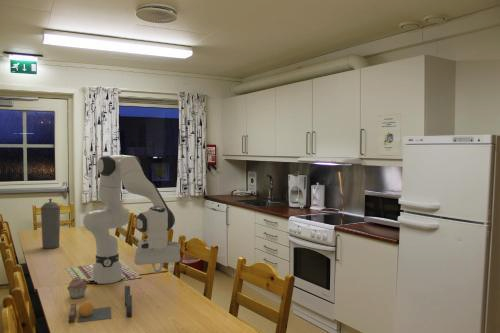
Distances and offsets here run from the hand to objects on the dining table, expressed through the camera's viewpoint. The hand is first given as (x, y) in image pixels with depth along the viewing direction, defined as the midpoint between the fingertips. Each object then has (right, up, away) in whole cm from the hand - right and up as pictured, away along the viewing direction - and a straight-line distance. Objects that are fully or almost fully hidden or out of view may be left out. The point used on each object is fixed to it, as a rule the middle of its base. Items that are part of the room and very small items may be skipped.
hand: (157, 272), depth 191 cm
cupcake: (-42, -15, +14) cm, 47 cm away
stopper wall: (-34, -16, -10) cm, 39 cm away
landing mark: (-25, -16, -8) cm, 31 cm away
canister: (-101, -10, +111) cm, 151 cm away
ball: (-29, -13, -10) cm, 33 cm away
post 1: (-14, -16, +3) cm, 21 cm away
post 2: (-10, -16, -10) cm, 22 cm away
